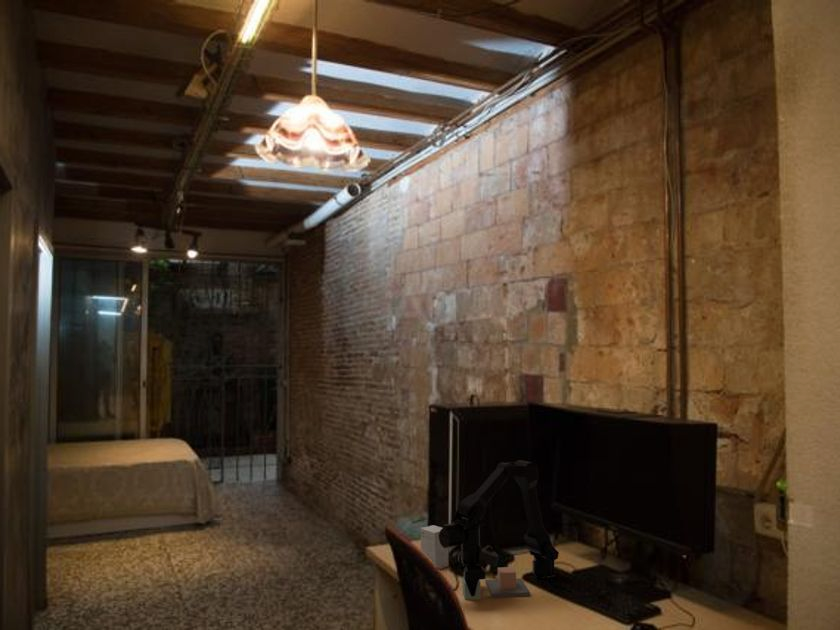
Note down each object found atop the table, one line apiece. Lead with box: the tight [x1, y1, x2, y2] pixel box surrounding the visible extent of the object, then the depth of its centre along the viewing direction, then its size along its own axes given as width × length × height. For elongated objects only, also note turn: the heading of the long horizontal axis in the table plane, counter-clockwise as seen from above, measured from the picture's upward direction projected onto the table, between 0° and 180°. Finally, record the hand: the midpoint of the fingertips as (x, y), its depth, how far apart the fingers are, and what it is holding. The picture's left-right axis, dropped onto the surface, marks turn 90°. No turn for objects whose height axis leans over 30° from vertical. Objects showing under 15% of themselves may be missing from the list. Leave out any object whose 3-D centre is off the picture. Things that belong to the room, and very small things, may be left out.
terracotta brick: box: [497, 566, 517, 589], centre depth 207 cm, size 5×5×5 cm
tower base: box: [484, 577, 531, 599], centre depth 207 cm, size 12×12×1 cm
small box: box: [420, 524, 449, 570], centre depth 231 cm, size 8×6×13 cm
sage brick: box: [461, 576, 482, 601], centre depth 202 cm, size 5×5×5 cm
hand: (471, 592), depth 202 cm, fingers closed on sage brick, 5 cm apart
